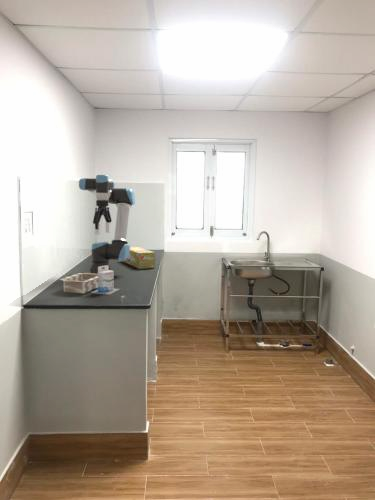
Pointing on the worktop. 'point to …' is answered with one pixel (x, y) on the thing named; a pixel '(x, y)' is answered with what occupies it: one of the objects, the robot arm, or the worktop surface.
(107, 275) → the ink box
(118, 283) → the worktop surface
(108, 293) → the mat
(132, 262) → the soda box
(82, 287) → the beige storage basket
